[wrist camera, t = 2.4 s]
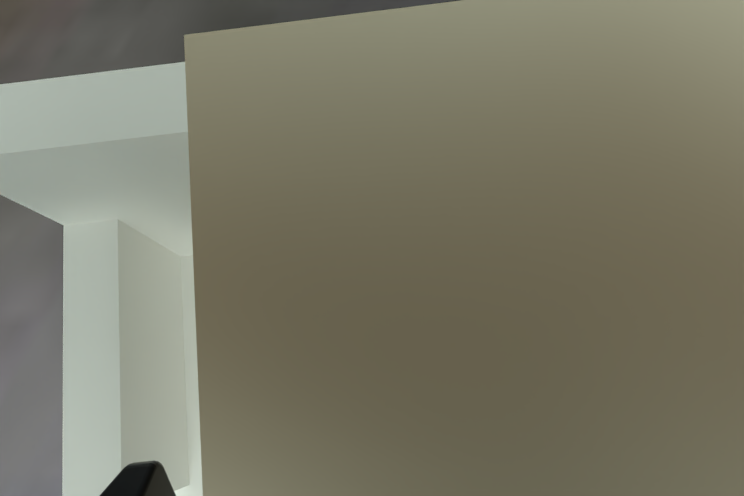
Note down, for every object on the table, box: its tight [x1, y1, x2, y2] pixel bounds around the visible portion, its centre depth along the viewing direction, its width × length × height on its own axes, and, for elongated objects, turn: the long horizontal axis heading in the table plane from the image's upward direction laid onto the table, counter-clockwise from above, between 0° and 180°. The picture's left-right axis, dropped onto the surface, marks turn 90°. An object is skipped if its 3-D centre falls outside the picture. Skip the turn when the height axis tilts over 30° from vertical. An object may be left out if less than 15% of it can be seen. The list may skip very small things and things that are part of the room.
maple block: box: [184, 0, 744, 496], centre depth 11 cm, size 5×5×13 cm
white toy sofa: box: [0, 62, 203, 496], centre depth 14 cm, size 10×16×9 cm, turn 96°
